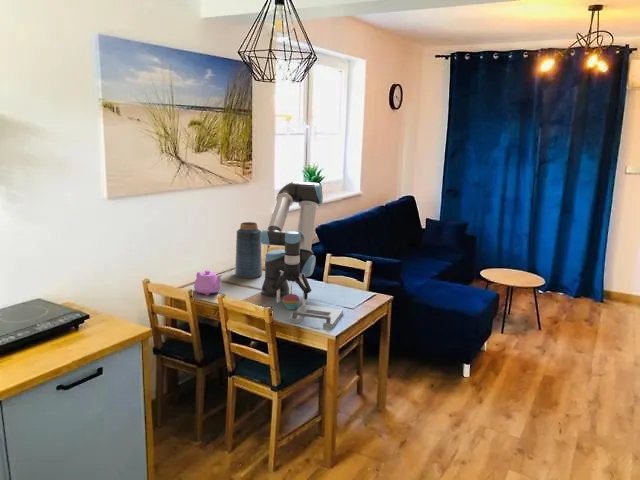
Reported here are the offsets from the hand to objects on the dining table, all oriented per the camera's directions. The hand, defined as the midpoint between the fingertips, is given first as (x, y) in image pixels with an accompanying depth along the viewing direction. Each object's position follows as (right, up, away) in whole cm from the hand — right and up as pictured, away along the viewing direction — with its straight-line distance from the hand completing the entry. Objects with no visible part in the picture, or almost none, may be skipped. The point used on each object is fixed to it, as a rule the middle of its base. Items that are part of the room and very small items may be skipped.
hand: (291, 303), depth 263 cm
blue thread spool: (-29, +11, +54) cm, 62 cm away
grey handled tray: (+13, -5, -11) cm, 18 cm away
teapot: (-45, +3, +19) cm, 49 cm away
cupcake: (0, -2, +1) cm, 2 cm away
